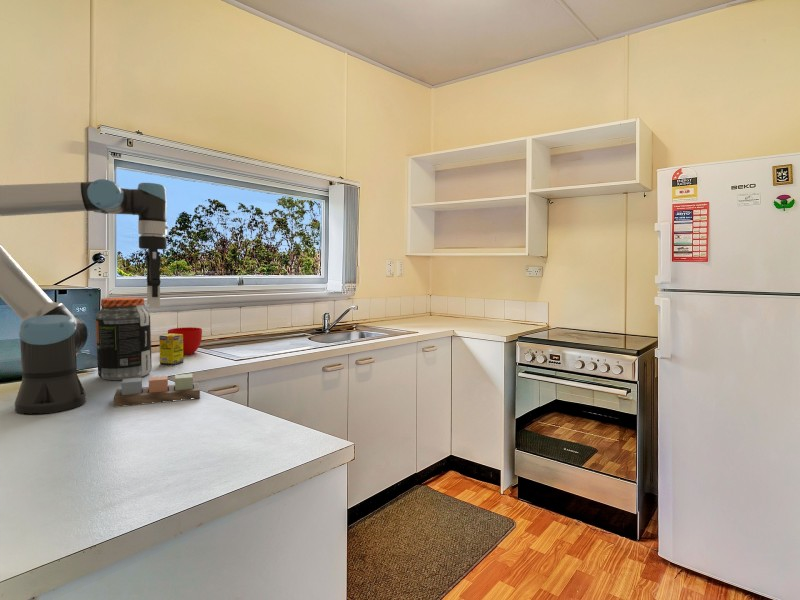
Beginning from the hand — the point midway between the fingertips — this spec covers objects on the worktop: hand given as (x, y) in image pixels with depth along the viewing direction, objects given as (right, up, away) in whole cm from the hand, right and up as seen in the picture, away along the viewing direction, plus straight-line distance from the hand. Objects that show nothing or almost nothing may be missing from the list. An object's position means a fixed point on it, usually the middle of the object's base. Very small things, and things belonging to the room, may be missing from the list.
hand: (153, 306), depth 147 cm
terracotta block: (+7, -23, -12) cm, 27 cm away
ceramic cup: (-14, -21, +52) cm, 57 cm away
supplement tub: (-17, -24, +14) cm, 32 cm away
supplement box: (-10, -22, +34) cm, 42 cm away
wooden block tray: (+7, -26, -11) cm, 29 cm away
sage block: (+13, -23, -9) cm, 28 cm away
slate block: (+1, -24, -14) cm, 28 cm away
